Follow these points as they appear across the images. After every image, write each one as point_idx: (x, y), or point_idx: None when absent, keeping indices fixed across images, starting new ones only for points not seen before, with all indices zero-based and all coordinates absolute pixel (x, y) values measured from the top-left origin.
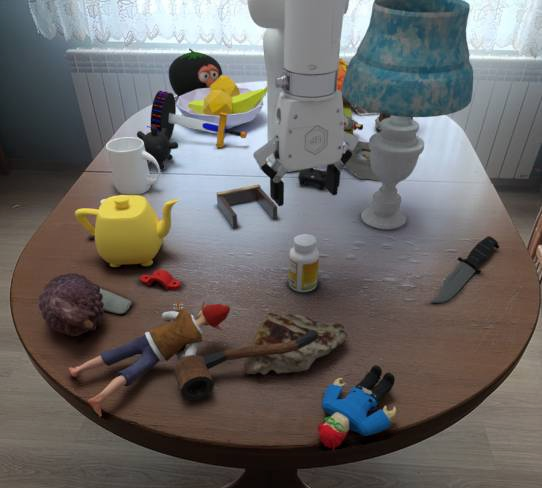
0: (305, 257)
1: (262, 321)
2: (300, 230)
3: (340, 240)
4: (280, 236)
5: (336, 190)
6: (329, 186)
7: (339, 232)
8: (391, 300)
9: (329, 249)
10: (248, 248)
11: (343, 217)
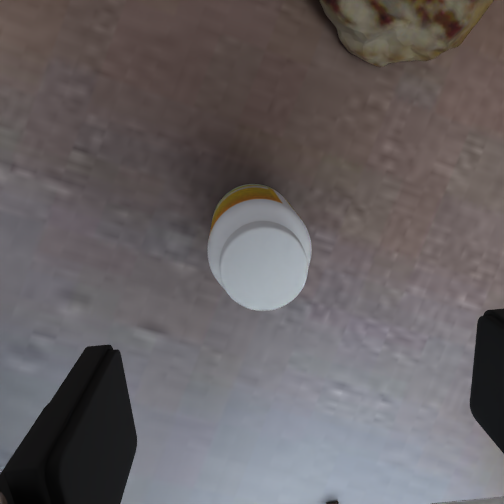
0: (274, 212)
1: (478, 16)
2: (170, 454)
3: None
4: (232, 442)
5: (85, 361)
6: (118, 419)
7: None
8: (19, 66)
9: None
10: (332, 413)
11: None
